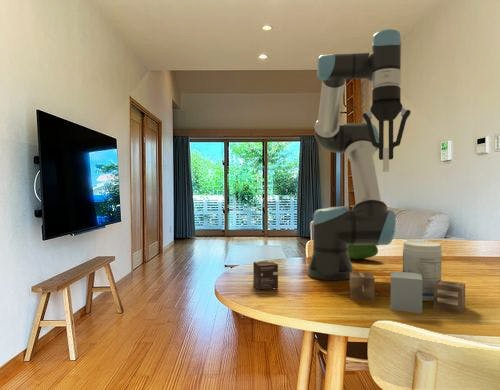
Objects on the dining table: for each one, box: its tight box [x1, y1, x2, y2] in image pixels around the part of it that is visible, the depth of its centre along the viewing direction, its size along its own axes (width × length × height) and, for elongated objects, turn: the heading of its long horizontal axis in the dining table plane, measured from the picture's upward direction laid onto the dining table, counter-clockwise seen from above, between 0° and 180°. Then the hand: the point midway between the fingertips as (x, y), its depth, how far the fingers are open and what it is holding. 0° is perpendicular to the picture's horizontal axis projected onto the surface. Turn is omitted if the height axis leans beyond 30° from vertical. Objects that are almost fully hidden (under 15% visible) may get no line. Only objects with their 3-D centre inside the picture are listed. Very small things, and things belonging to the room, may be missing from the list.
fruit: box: [348, 245, 379, 261], centre depth 153 cm, size 15×10×10 cm, turn 47°
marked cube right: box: [433, 279, 466, 315], centre depth 90 cm, size 6×6×6 cm
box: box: [252, 260, 279, 291], centre depth 110 cm, size 6×6×7 cm
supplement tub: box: [402, 240, 443, 302], centre depth 100 cm, size 10×10×15 cm
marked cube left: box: [349, 271, 376, 302], centre depth 99 cm, size 6×8×6 cm
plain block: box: [390, 270, 423, 314], centre depth 91 cm, size 7×7×8 cm
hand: (386, 171), depth 104 cm, fingers closed
